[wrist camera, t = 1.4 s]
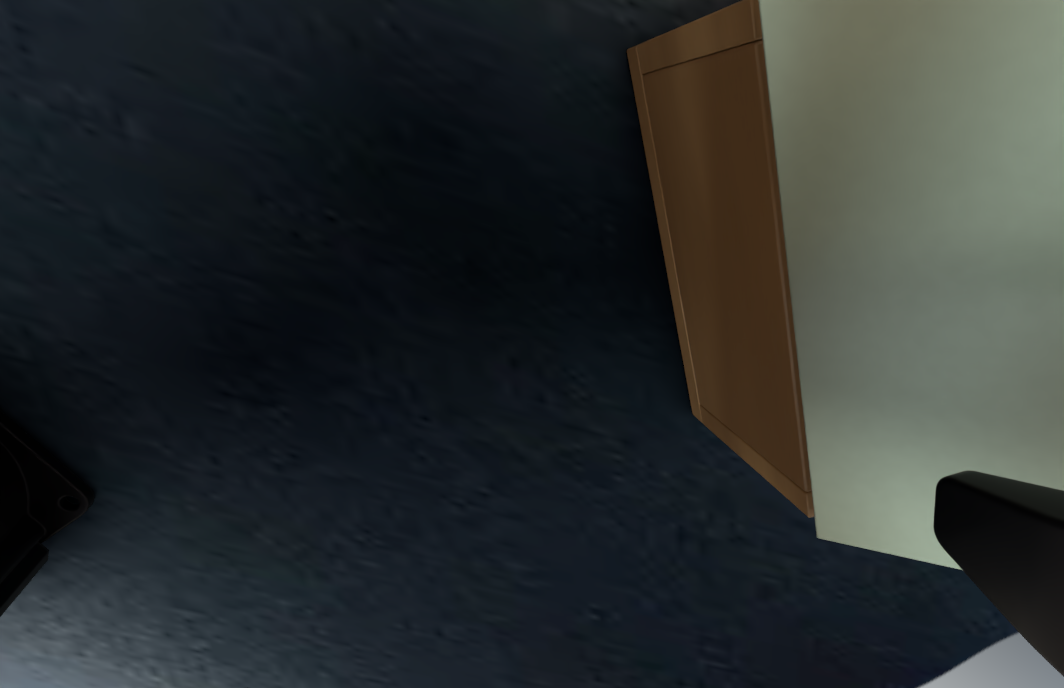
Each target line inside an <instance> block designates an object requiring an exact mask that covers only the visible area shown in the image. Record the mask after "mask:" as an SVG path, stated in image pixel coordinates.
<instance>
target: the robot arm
mask: <svg viewBox="0 0 1064 688" xmlns="http://www.w3.org/2000/svg"><path fill="white" fill-rule="evenodd" d="M66 496H72V497H74V498H76V499H77V500H78V502H79V504H73V503H71V502H69V501H68V500H67V498H66ZM94 498H95V497H94V493H93V491H92V490H91V488H90V487H89V486H88V485H86V484H85V483H84V482H83V481H82V480H81V479H79V478H78V477H77V476H76V475H75V474H74V473H73V472H71V471H70V470H69V469H68V468H67V467H66V466H64V465H63V464H62V463H61V462H60V461H59V460H57V459H56V458H55V457H54V456H53V455H52V454H50V453H49V452H48V451H47V450H46V449H45V448H43V447H42V446H41V445H40V444H39V443H38V442H36V441H35V440H34V439H33V438H32V437H31V436H29V435H28V434H27V433H26V432H25V431H24V430H22V429H21V428H20V427H19V426H18V425H17V424H15V423H14V422H13V421H12V420H11V419H10V418H8V417H7V416H6V415H5V414H4V413H3V412H2V411H0V616H1V615H2V614H3V613H4V612H5V610H6V609H7V608H8V607H9V606H10V605H11V603H12V602H13V601H14V600H15V599H16V597H17V596H18V595H19V594H20V593H21V591H22V590H23V589H24V588H25V587H26V585H27V584H28V583H29V582H30V581H31V579H32V578H33V577H34V576H35V575H36V574H37V572H38V571H39V570H40V569H41V568H42V566H43V565H44V564H45V563H46V562H47V560H48V554H49V550H48V549H47V548H46V547H44V546H43V545H42V544H41V543H42V542H44V541H45V540H47V539H48V538H50V537H51V536H52V535H54V534H55V533H57V532H58V531H60V530H61V529H63V528H64V527H66V526H67V525H68V524H70V523H71V522H73V521H74V520H76V519H77V518H79V517H80V516H82V515H83V514H84V513H85V512H86V511H87V510H88V508H89V507H90V506H91V505H92V504H93V501H94ZM933 527H934V533H935V536H936V538H937V540H938V542H939V544H940V545H941V546H942V548H943V549H944V550H945V551H946V552H947V553H948V554H949V555H950V557H951V558H952V559H953V560H954V561H955V562H956V563H957V564H958V565H959V567H960V568H961V569H962V570H963V571H964V572H965V573H966V574H967V575H968V576H969V578H970V579H971V580H972V581H973V582H974V583H975V584H976V585H977V586H978V588H979V589H980V590H981V591H982V592H983V593H984V594H985V595H986V596H987V597H988V599H989V600H990V601H991V602H992V603H993V604H994V605H995V606H996V607H997V609H998V610H999V611H1000V612H1001V613H1002V614H1003V615H1004V616H1005V617H1006V618H1007V620H1008V621H1009V622H1010V623H1011V624H1012V625H1013V626H1014V627H1015V628H1016V630H1017V631H1018V632H1019V633H1020V634H1021V635H1022V636H1023V637H1024V638H1025V639H1026V640H1027V641H1028V642H1029V643H1030V644H1031V645H1032V646H1033V647H1034V648H1035V649H1036V650H1037V651H1038V652H1039V653H1040V654H1041V655H1042V656H1043V657H1044V658H1045V659H1046V660H1047V661H1048V662H1049V663H1050V664H1051V665H1052V666H1053V667H1054V668H1055V669H1056V670H1057V671H1058V672H1060V673H1061V674H1062V675H1063V676H1064V491H1063V490H1058V489H1054V488H1049V487H1045V486H1040V485H1036V484H1031V483H1027V482H1022V481H1018V480H1013V479H1009V478H1004V477H1000V476H995V475H991V474H986V473H982V472H977V471H972V470H968V471H962V472H958V473H955V474H952V475H949V476H945V477H943V478H941V479H940V480H939V482H938V483H937V485H936V492H935V508H934V524H933Z"/></svg>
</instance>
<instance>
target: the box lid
mask: <svg viewBox="0 0 1064 688" xmlns="http://www.w3.org/2000/svg"><path fill="white" fill-rule="evenodd" d="M758 2H759V11H760V20H761V29H762V38H763V48H764V57H765V66H766V75H767V84H768V94H769V103H770V112H771V121H772V130H773V140H774V149H775V158H776V167H777V176H778V185H779V195H780V204H781V213H782V222H783V231H784V241H785V250H786V259H787V268H788V277H789V287H790V296H791V305H792V314H793V323H794V333H795V342H796V351H797V360H798V369H799V379H800V388H801V397H802V406H803V415H804V424H805V434H806V443H807V452H808V461H809V470H810V480H811V489H812V498H813V507H814V516H815V526H816V535H817V538H820V539H824V540H829V541H833V542H838V543H842V544H847V545H852V546H856V547H861V548H865V549H870V550H874V551H879V552H883V553H888V554H892V555H897V556H902V557H906V558H911V559H915V560H920V561H924V562H929V563H933V564H938V565H942V566H947V567H952V568H956V569H961V568H960V567H959V565H958V564H957V563H956V562H955V561H954V560H953V559H952V558H951V557H950V555H949V554H948V553H947V552H946V551H945V550H944V549H943V548H942V546H941V545H940V544H939V542H938V540H937V538H936V536H935V533H934V527H933V524H934V508H935V492H936V485H937V483H938V482H939V480H940V479H941V478H943V477H945V476H949V475H952V474H955V473H958V472H962V471H968V470H972V471H977V472H982V473H986V474H991V475H995V476H1000V477H1004V478H1009V479H1013V480H1018V481H1022V482H1027V483H1031V484H1036V485H1040V486H1045V487H1049V488H1054V489H1058V490H1063V491H1064V0H758ZM961 570H962V569H961Z"/></svg>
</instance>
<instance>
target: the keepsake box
mask: <svg viewBox="0 0 1064 688" xmlns="http://www.w3.org/2000/svg"><path fill="white" fill-rule="evenodd" d="M627 56H628V61H629V67H630V72H631V78H632V83H633V89H634V94H635V100H636V105H637V111H638V116H639V122H640V127H641V133H642V138H643V144H644V149H645V155H646V160H647V166H648V171H649V177H650V182H651V188H652V193H653V199H654V204H655V210H656V215H657V221H658V226H659V232H660V237H661V243H662V248H663V254H664V259H665V265H666V270H667V276H668V281H669V287H670V292H671V298H672V303H673V309H674V314H675V320H676V325H677V331H678V336H679V342H680V347H681V353H682V358H683V364H684V369H685V375H686V380H687V386H688V391H689V397H690V402H691V408H692V413H693V415H694V416H695V417H696V418H697V419H698V420H700V421H701V422H702V423H703V424H704V425H705V426H706V427H707V428H708V429H710V430H711V431H712V432H713V433H714V434H715V435H716V436H717V437H719V438H720V439H721V440H722V441H723V442H724V443H725V444H727V445H728V446H729V447H730V448H731V449H732V450H733V451H734V452H736V453H737V454H738V455H739V456H740V457H741V458H742V459H743V460H745V461H746V462H747V463H748V464H749V465H750V466H751V467H752V468H754V469H755V470H756V471H757V472H758V473H759V474H760V475H761V476H763V477H764V478H765V479H766V480H767V481H768V482H769V483H771V484H772V485H773V486H774V487H775V488H776V489H777V490H778V491H780V492H781V493H782V494H783V495H784V496H785V497H786V498H787V499H789V500H790V501H791V502H792V503H793V504H794V505H795V506H796V507H798V508H799V509H800V510H801V511H802V512H803V513H804V514H806V515H807V516H808V517H813V516H814V507H813V498H812V489H811V480H810V470H809V461H808V452H807V443H806V434H805V424H804V415H803V406H802V397H801V388H800V379H799V369H798V360H797V351H796V342H795V333H794V323H793V314H792V305H791V296H790V287H789V277H788V268H787V259H786V250H785V241H784V231H783V222H782V213H781V204H780V195H779V185H778V176H777V167H776V158H775V149H774V140H773V130H772V121H771V112H770V103H769V94H768V84H767V75H766V66H765V57H764V48H763V38H762V29H761V20H760V11H759V2H758V0H742V1H740V2H737V3H735V4H732V5H730V6H728V7H725V8H723V9H721V10H718V11H716V12H714V13H711V14H709V15H707V16H704V17H702V18H699V19H697V20H695V21H692V22H690V23H688V24H685V25H683V26H681V27H678V28H676V29H674V30H671V31H669V32H666V33H664V34H662V35H659V36H657V37H655V38H652V39H650V40H648V41H645V42H643V43H641V44H638V45H636V46H634V47H631V48H629V49H627Z"/></svg>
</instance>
